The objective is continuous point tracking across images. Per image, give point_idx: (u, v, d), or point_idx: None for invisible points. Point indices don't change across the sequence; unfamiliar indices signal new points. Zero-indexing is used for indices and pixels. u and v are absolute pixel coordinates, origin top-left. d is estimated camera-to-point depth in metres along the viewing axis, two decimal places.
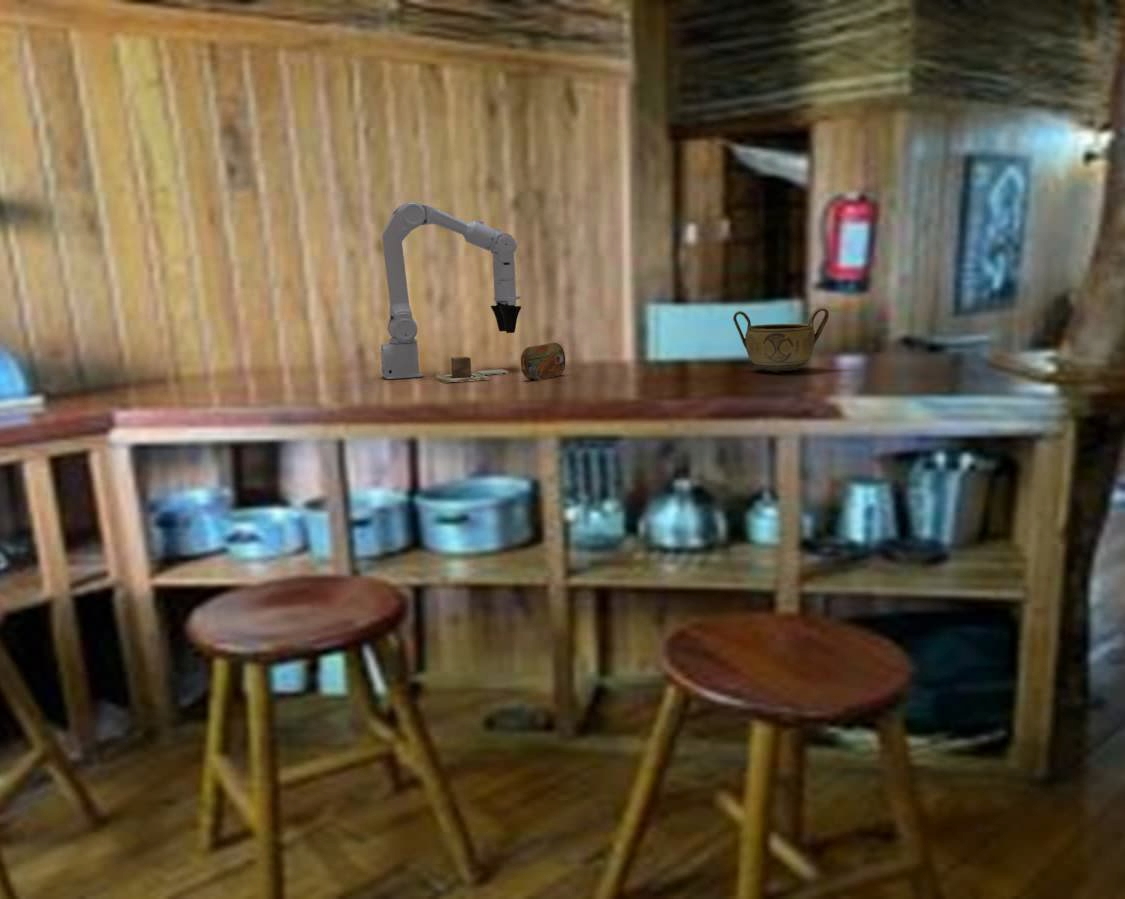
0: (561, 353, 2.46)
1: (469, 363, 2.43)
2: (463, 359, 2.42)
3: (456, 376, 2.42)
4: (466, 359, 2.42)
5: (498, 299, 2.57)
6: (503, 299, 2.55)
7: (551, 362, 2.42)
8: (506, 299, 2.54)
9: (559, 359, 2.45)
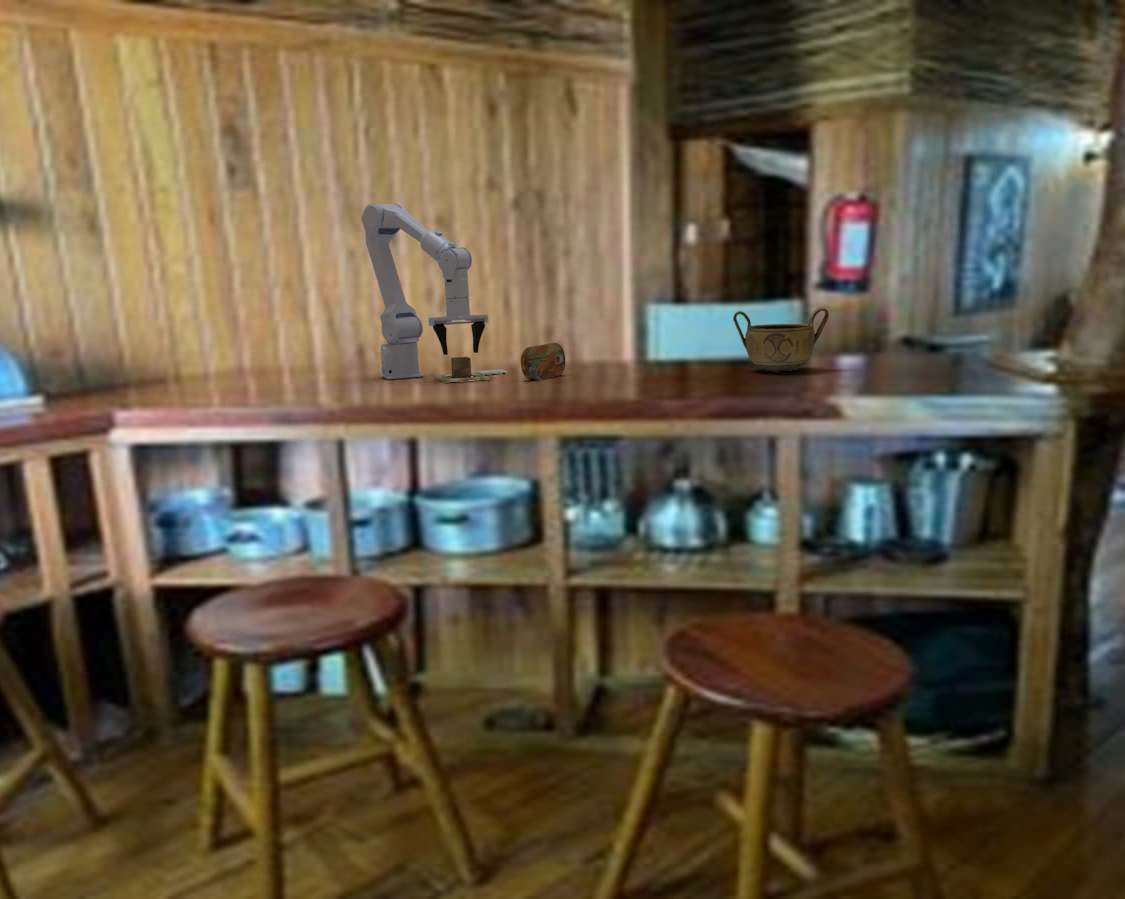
0: (561, 353, 2.46)
1: (469, 363, 2.43)
2: (463, 359, 2.42)
3: (456, 376, 2.42)
4: (466, 359, 2.42)
5: None
6: None
7: (551, 362, 2.42)
8: None
9: (559, 359, 2.45)
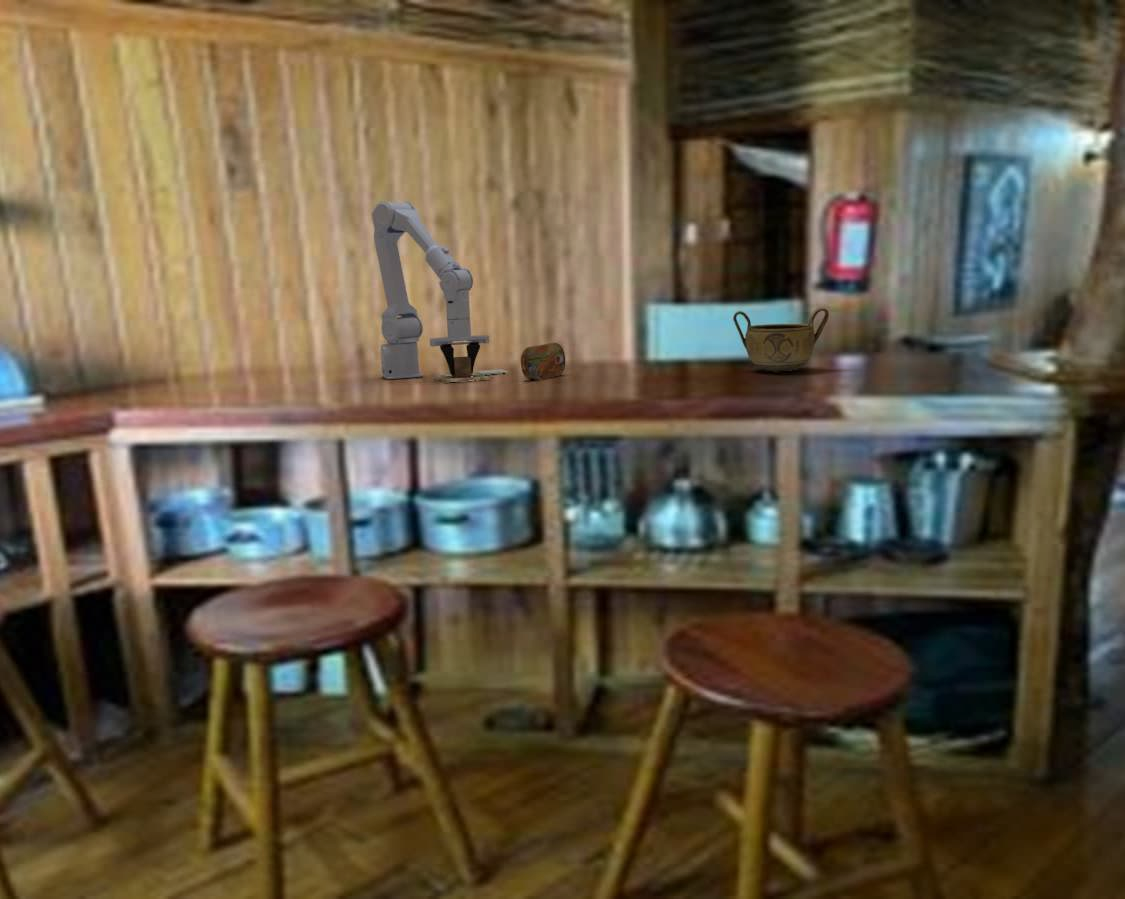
0: (561, 353, 2.46)
1: (469, 363, 2.43)
2: (463, 359, 2.42)
3: (456, 376, 2.42)
4: (466, 359, 2.42)
5: None
6: None
7: (551, 362, 2.42)
8: None
9: (559, 359, 2.45)
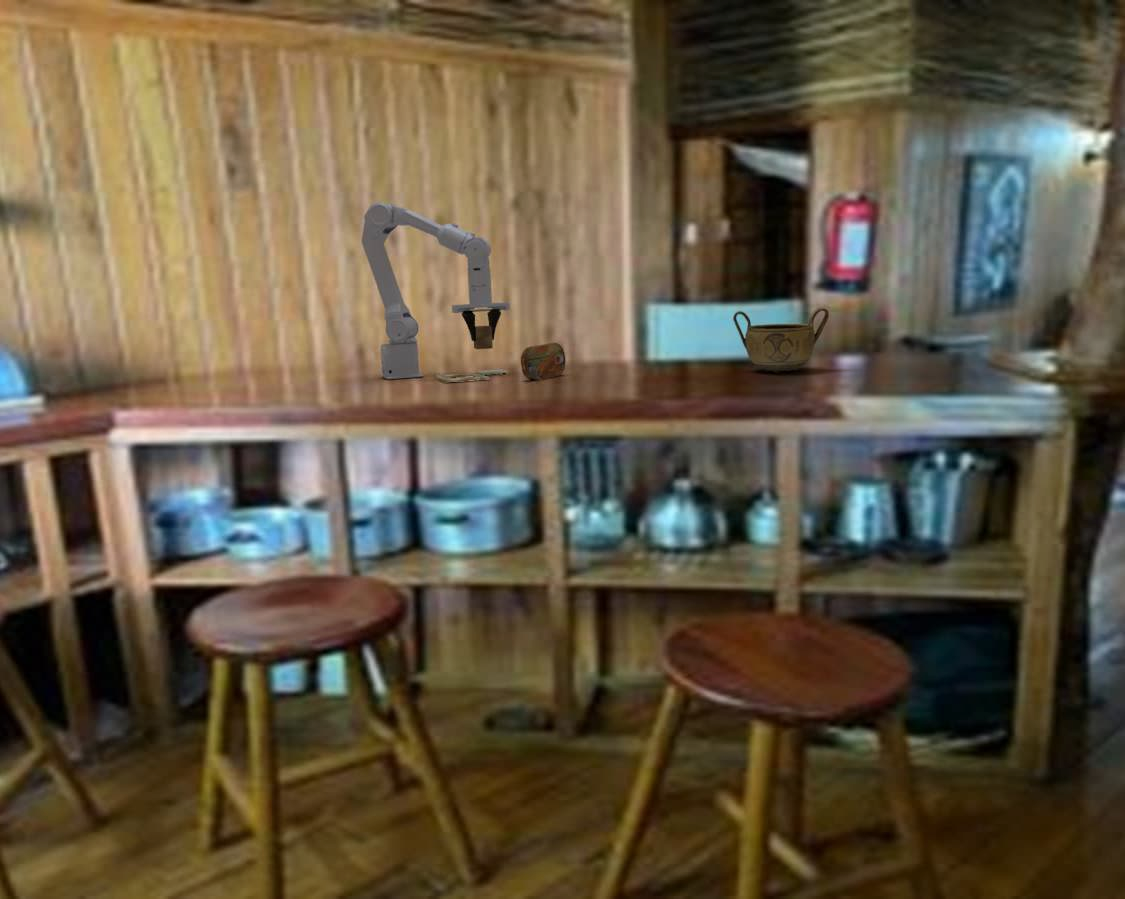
0: (561, 353, 2.46)
1: (490, 331, 2.49)
2: (484, 327, 2.48)
3: (477, 344, 2.48)
4: (487, 328, 2.48)
5: None
6: None
7: (551, 362, 2.42)
8: None
9: (559, 359, 2.45)
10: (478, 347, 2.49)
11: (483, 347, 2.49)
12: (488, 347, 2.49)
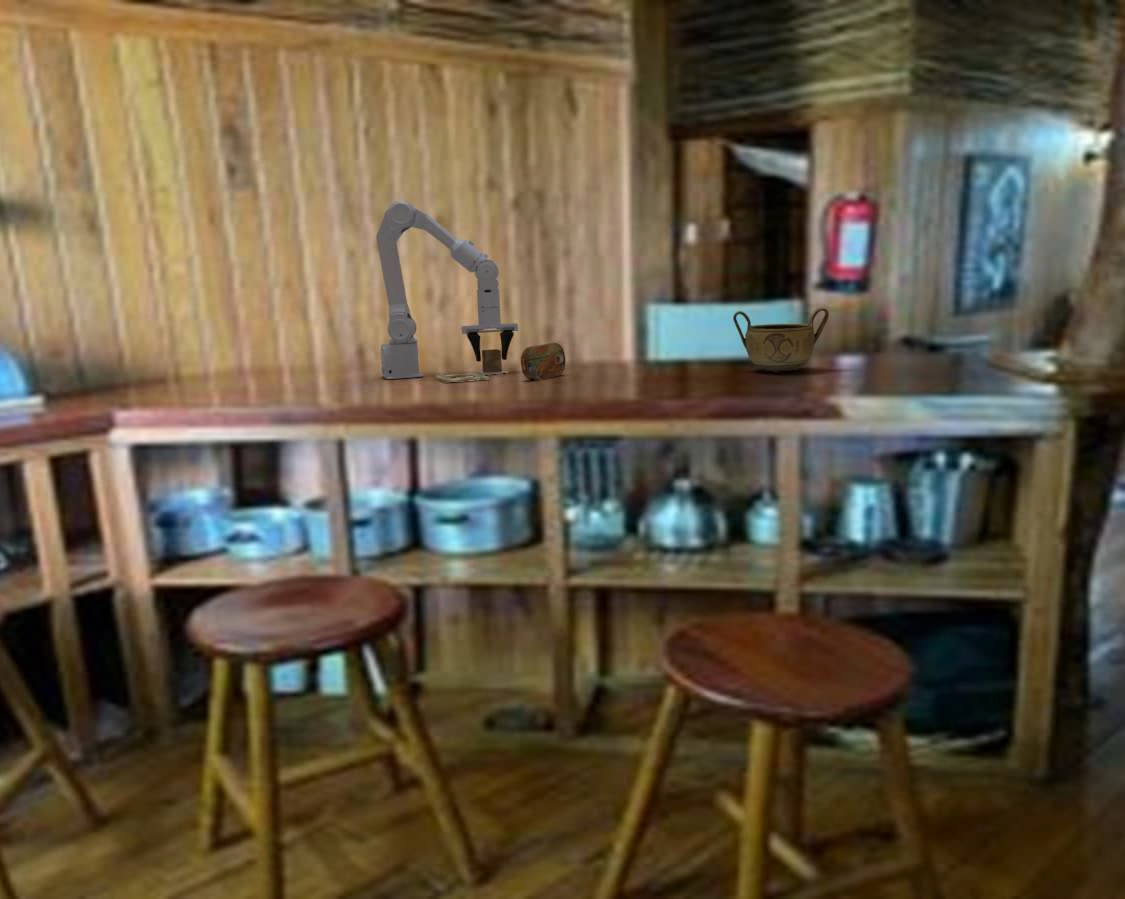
0: (561, 353, 2.46)
1: (499, 355, 2.53)
2: (494, 351, 2.52)
3: (487, 368, 2.53)
4: (497, 351, 2.53)
5: None
6: None
7: (551, 362, 2.42)
8: None
9: (559, 359, 2.45)
10: (488, 370, 2.53)
11: (492, 370, 2.53)
12: (497, 370, 2.54)
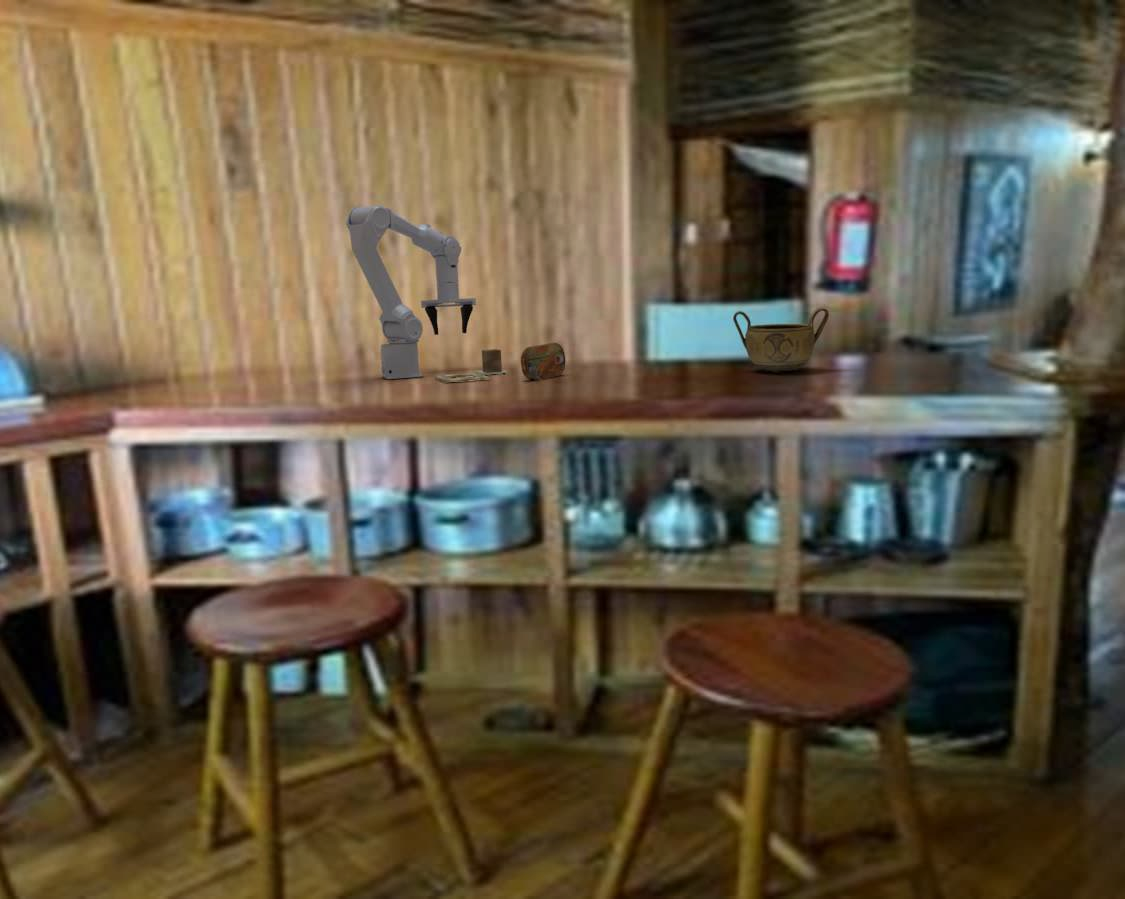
0: (561, 353, 2.46)
1: (499, 355, 2.53)
2: (494, 351, 2.52)
3: (487, 368, 2.53)
4: (497, 351, 2.53)
5: None
6: None
7: (551, 362, 2.42)
8: None
9: (559, 359, 2.45)
10: (488, 370, 2.53)
11: (492, 370, 2.53)
12: (497, 370, 2.54)
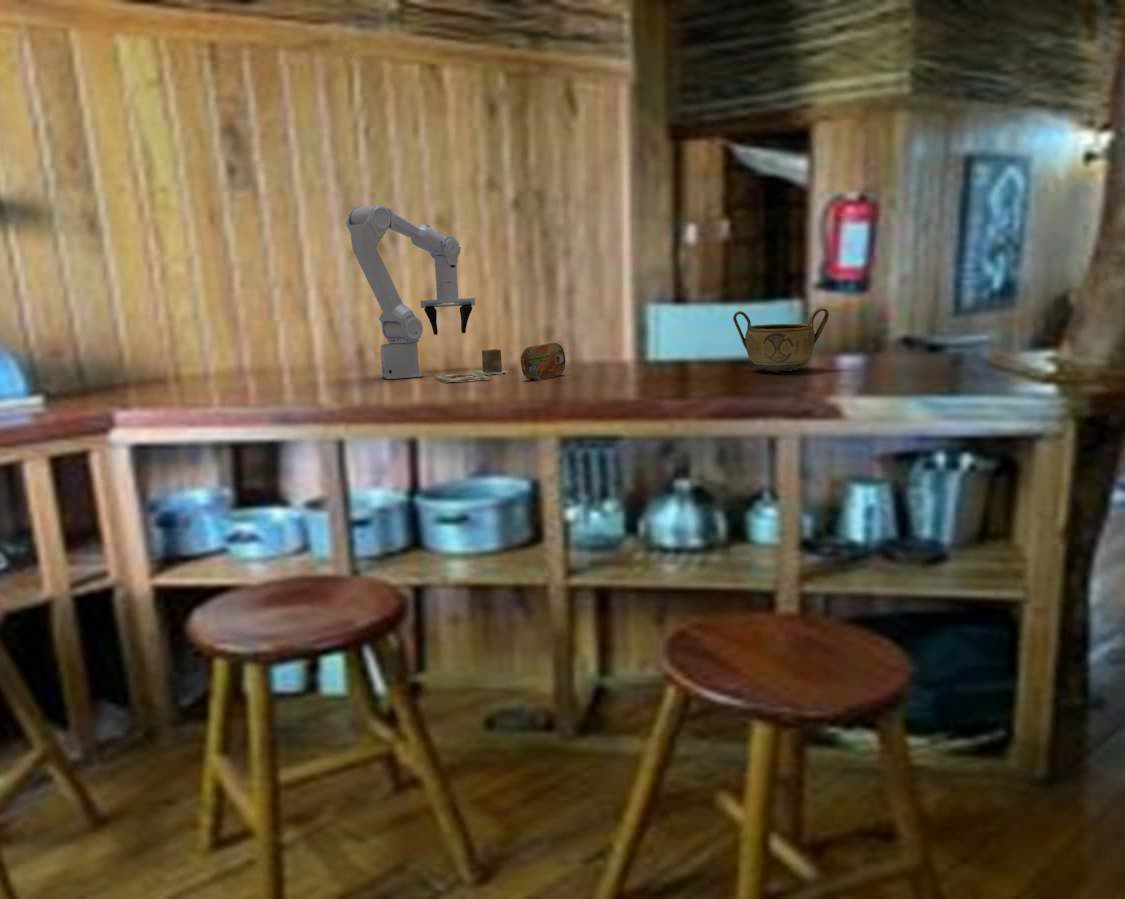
0: (561, 353, 2.46)
1: (499, 355, 2.53)
2: (494, 351, 2.52)
3: (487, 368, 2.53)
4: (497, 351, 2.53)
5: None
6: None
7: (551, 362, 2.42)
8: None
9: (559, 359, 2.45)
10: (488, 370, 2.53)
11: (492, 370, 2.53)
12: (497, 370, 2.54)
